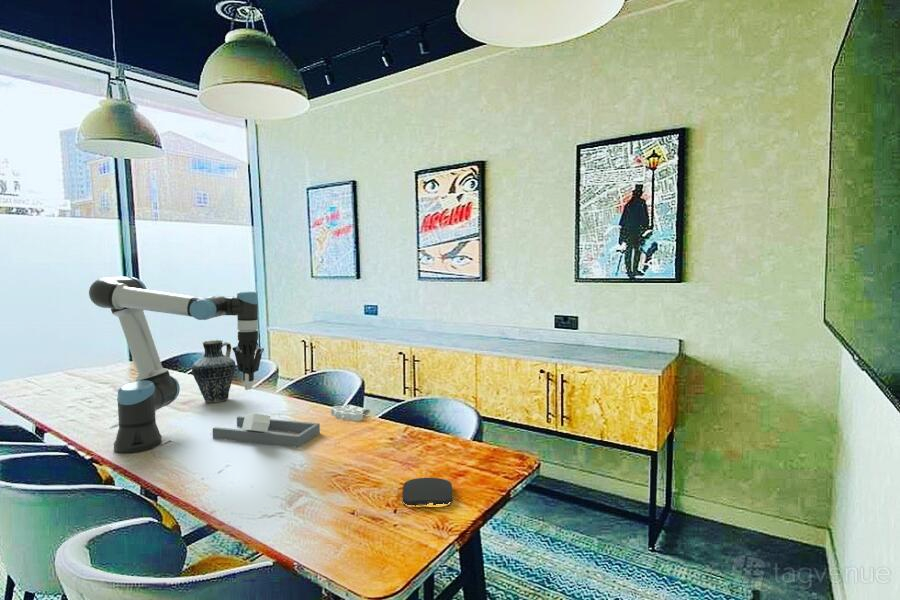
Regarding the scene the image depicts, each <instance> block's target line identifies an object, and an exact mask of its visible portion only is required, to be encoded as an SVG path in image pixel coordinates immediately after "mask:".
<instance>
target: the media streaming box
mask: <svg viewBox="0 0 900 600" xmlns="http://www.w3.org/2000/svg"><path fill="white" fill-rule="evenodd" d="M451 501H452V502H453V485H452V482H451V481H449V480H447V479H445V478H444V479H443V478H439V477H417V478H412V479H409V480H407V481H405V482H403V486H402V503H403V502H404V503H405V504H407V505H415V506H416V505H427V504H429V503H433V505H436V504H443V503H444V504H448V503H449V502H451Z"/></svg>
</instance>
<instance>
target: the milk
mask: <svg viewBox="0 0 900 600" xmlns="http://www.w3.org/2000/svg"><path fill="white" fill-rule="evenodd" d="M243 417H244V422H243V426H242V427H241V430H250V431H260V432H268V431H269V430H268V427H269V424H270V419H271V415H267V414H258V413H251V414H245V415H244V416H243Z"/></svg>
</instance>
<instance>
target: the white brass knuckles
mask: <svg viewBox="0 0 900 600" xmlns="http://www.w3.org/2000/svg"><path fill="white" fill-rule="evenodd" d="M370 413H371V410H370V409H369V408H364V407H360V406H357V405H353V404H346V405H334V406H332V407H331V408H330V415H331V416H333V417H335V418H336V419H341V420H344V421H352V422H357V421H358V422H359V421H362V420H363V419H364V416H368V415H369V414H370Z"/></svg>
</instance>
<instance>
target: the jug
mask: <svg viewBox="0 0 900 600" xmlns="http://www.w3.org/2000/svg"><path fill="white" fill-rule="evenodd" d="M202 344H203V348H204V353H203V356H202V357H201V358H200V359H198V360H197V361H195V362H193V364H192V366H191V373H192V375H193V378H194V380H195V382H196V385H197V386H198V389H199V391H200V394H201V395H202V397H203V400H204V402H207V403H219V402H224V401H227V400H228V399H229V394H230V389H231V386H232V385H231V384H232V381H233V378H234V376H235V371H236V365H237V363H236V361H235V360H234V359H233V358H231V353H232V352H231V351H232V345H231V343H229V342H226V341H225V342H223V340H221V339H216V340H207V341H205V340H204V341H203V342H202ZM225 346H226V352H225V355H224V353H223V351H222V350H223V349H222V348H223V347H225Z"/></svg>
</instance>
